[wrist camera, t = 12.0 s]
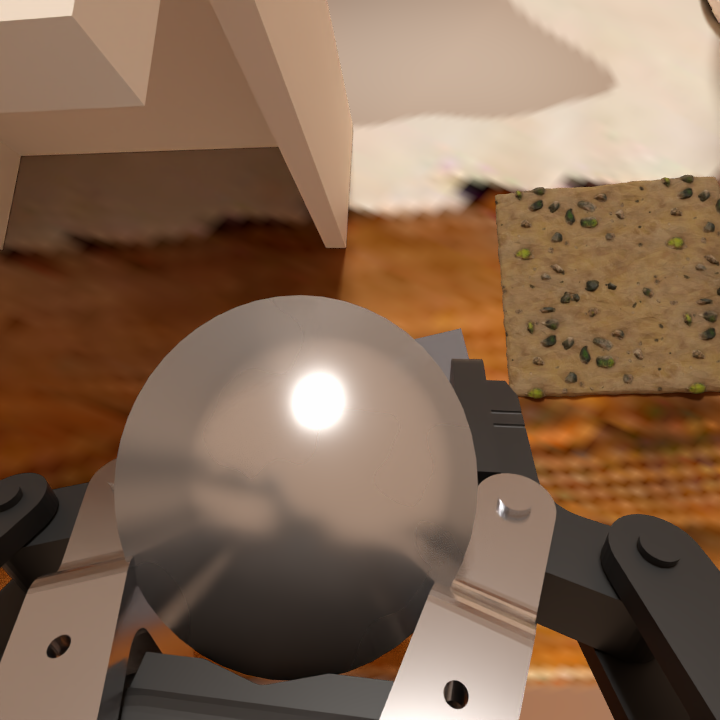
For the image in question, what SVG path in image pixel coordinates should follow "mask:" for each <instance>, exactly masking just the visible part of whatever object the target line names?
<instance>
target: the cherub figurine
mask: <svg viewBox="0 0 720 720" xmlns="http://www.w3.org/2000/svg"><path fill="white" fill-rule="evenodd" d="M708 2H709V5H710V6H711V7H712V12H713V13H714V16H715V17H716V19H717V20H718V22H719V23H720V0H708Z"/></svg>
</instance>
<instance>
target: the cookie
mask: <svg viewBox="0 0 720 720" xmlns="http://www.w3.org/2000/svg"><path fill="white" fill-rule="evenodd" d="M495 200H496V201H495V202H496V224H497V235H498V244H499V247H498V256H499V262H500V267H501V286H502V290H503V311H504V327H505V331H506V347H507V353H506V356H507V361H508V364H507V366H508V375H509V386H510V387H511V388H512V390H513V391H514V392H515V393H516V394H517V396H528V397H531V398H535V399H536V398H543V397H545V396H556V397H561V396H570V397H574V396H582V395H597V394H607V395H618V394H635V393H638V394H651V393H652V394H661V393H674V392H684V393H694V394H697V393H704V392H707V391H711V392H720V187H719V185H718V182H717V180H716V178H715V177H693V176H692V175H684V176H682V177H680V178H675V179H669V178H665V177H664V178H662V179H661V180H653V181H632V182H628V183H619V184H608V185H603V186H596V187H574V188H555V189H544V188H543V187H539V188H535V189H533V190H531V191H524V192H520V191H516V192H515V193H510V194H499V195H496V196H495Z"/></svg>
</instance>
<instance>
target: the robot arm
mask: <svg viewBox="0 0 720 720" xmlns="http://www.w3.org/2000/svg"><path fill="white" fill-rule="evenodd" d="M450 384H451V385H452V387H453V389H454V391H455V393H456V395H457V397H458V399H459V401H460V403H461V405H462V407H463V409H464V413H465V416H466V419H467V422H468V425H469V428H470V431H471V434H472V439H473V444H474V450H475V455H476V462H477V479H478V491H477V505H476V514H475V519H474V524H473V529H472V534H471V539H470V542H469V544H468V547H467V550H466V553H465V556H464V559H463V562H462V564H461V566H460V568H459V570H458V572H457V574H456V576H455V578H454V580H453V582H452V584H451V586H450V587H447V586H445V585H442V584H439V583H436V582H435V583H434V585H433V587H432V589H431V591H430V593H429V595H428V598H427V600H426V603H425V605H424V608H423V610H422V613H421V615H420V618H419V621H418V623H417V626H416V628H415V631H414V633H413V636H412V638H411V641H410V643H409V646H408V648H407V651H406V653H405V656H404V658H403V661H402V663H401V666H400V669H399V671H398V674H397V676H396V679H395V681H394V684H393V681H387V680H379V679H370V678H362V677H354V676H345V675H337V674H324V675H319V676H313V677H307V678H302V679H296V680H291V681H285V682H279V683H274V684H268V685H258V684H255V683H253V682H251V681H249V680H247V679H245V678H243V677H240V676H238V675H236V674H234V673H232V672H230V671H228V670H226V669H224V668H222V667H220V666H218V665H216V664H214V663H212V662H210V661H208V660H206V659H203V658H194V651H193V648H191V647H190V646H189V645H187V644H186V643H185V642H183V641H182V640H181V639H180V638H178V637H177V636H176V635H175V634H174V633H173V632H172V631H171V630H170V629H169V628H168V627H167V626H166V625H165V624H164V623H163V622H162V621H161V619H160V618H159V617H158V615H157V614H156V613H155V612H154V610H153V609H152V608H151V606H150V605H149V604H148V603H147V601H146V599H145V598H144V596H143V594H142V592H141V591H140V589H139V587H138V586H137V581H136V570H135V560H134V555H133V556H128V557H125V556H124V552H123V549H122V545H121V542H120V538H119V534H118V528H117V521H116V515H115V501H114V481H115V469H116V460H117V458H116V459H114V460H112V461H110V462H109V463H107V464H106V465H104V466H103V467H102V468H100V469H99V470H98V471H97V472H96V473H95V474H94V476H93V477H92V478H91V480H90V482H88V483H83V484H78V485H73V486H68V487H63V488H58V489H53V490H52V489H51V487H50V486H49V484H48V483H47V481H46V480H45V478H44V477H43V476H41V475H39V474H36V473H22V474H17V475H13V476H10V477H7V478H5V479H2V480H0V568H1V567H2V568H3V569H4V570H5V571H6V573H7V574H8V575H9V576H10V577H11V578H12V580H11V581H10V582H9V583H8V584H7V585H6V586H5V587H4V588H3V589H2V590H1V591H0V720H519V716H520V711H521V706H522V701H523V696H524V691H525V686H526V680H527V675H528V670H529V665H530V660H531V655H532V650H533V644H534V639H535V633H536V625H537V623H538V624H540V625H542V626H545V627H547V628H549V629H552V630H554V631H556V632H559V633H561V634H563V635H565V636H568V637H570V638H572V639H575V640H577V641H578V643H579V645H580V648H581V650H582V652H583V654H584V656H585V658H586V660H587V662H588V664H589V667H590V669H591V671H592V673H593V675H594V677H595V679H596V681H597V684H598V686H599V688H600V690H601V692H602V694H603V696H604V698H605V700H606V702H607V705H608V707H609V709H610V711H611V713H612V715H613V717H614V719H615V720H720V571H719V570H718V569H717V567H716V566H715V565H714V564H713V562H712V561H711V560H710V559H709V557H708V556H707V555H706V554H705V552H704V551H703V550H702V549H701V548H700V546H699V545H698V544H697V543H696V542H695V541H694V540H693V539H692V538H691V537H690V536H689V535H688V534H687V533H685V532H684V531H683V530H681V529H680V528H678V527H677V526H675V525H673V524H671V523H669V522H667V521H665V520H663V519H660V518H657V517H654V516H649V515H642V514H633V515H627V516H623V517H621V518H619V519H618V520H616V521H615V522H614V523H613V524H612V526H608V525H605V524H602V523H599V522H596V521H593V520H590V519H587V518H584V517H581V516H578V515H576V514H573V513H571V512H569V511H567V510H565V509H564V508H562V507H560V506H559V505H558V504H556V503H555V502H554V501H553V499H552V497H551V496H550V494H549V493H548V492H547V491H546V490H545V489H544V488H543V487H542V486H541V485H540V483H539V480H538V477H537V473H536V469H535V465H534V461H533V457H532V453H531V449H530V444H529V440H528V436H527V432H526V428H525V427H524V426H525V424H524V420H523V416H522V414H521V408H520V404H519V400H518V396H517V394H516V393H515V392H514V391H513V390H512V388H511V387H510V386H509V385H508V384H507V383H506V382H505V381H492V380H486V376H485V370H484V364H483V360H482V359H451V368H450Z"/></svg>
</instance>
